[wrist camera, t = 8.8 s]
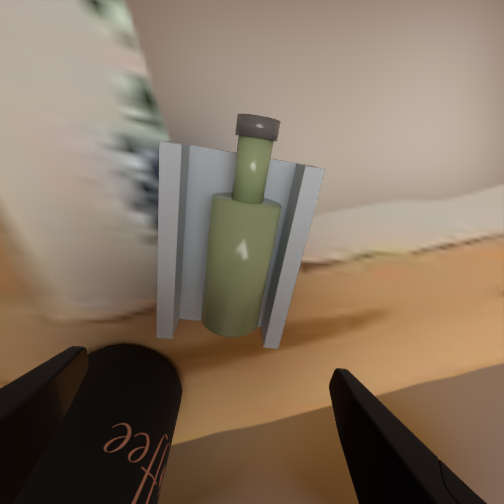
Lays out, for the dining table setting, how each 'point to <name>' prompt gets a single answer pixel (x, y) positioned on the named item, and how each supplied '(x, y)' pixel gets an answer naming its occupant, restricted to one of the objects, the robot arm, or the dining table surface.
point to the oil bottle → (241, 235)
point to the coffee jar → (111, 433)
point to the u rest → (197, 227)
